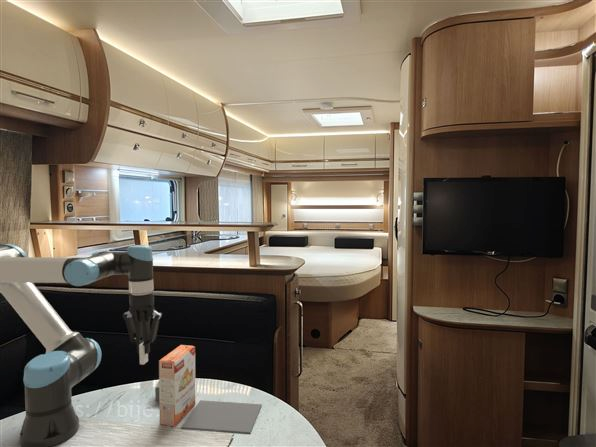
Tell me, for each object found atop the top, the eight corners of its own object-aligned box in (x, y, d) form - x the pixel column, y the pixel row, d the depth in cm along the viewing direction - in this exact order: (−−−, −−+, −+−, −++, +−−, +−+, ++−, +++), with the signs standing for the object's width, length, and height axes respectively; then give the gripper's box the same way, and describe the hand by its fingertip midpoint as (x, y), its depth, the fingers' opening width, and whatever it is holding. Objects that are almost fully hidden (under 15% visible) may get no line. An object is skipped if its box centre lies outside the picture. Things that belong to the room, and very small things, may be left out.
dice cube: (155, 401, 135) (155, 387, 135) (158, 394, 140) (158, 381, 140) (170, 400, 136) (169, 386, 136) (172, 393, 141) (172, 380, 141)
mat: (180, 428, 119) (180, 427, 119) (200, 401, 135) (200, 400, 135) (250, 433, 117) (250, 432, 117) (261, 405, 132) (261, 404, 132)
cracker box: (176, 427, 120) (175, 362, 118) (158, 425, 121) (157, 360, 120) (197, 404, 133) (196, 345, 132) (181, 402, 135) (179, 343, 133)
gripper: (165, 290, 129) (167, 358, 130) (129, 289, 131) (131, 357, 132) (154, 295, 122) (157, 368, 123) (116, 294, 123) (119, 366, 125)
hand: (144, 362), depth 128 cm, fingers closed
